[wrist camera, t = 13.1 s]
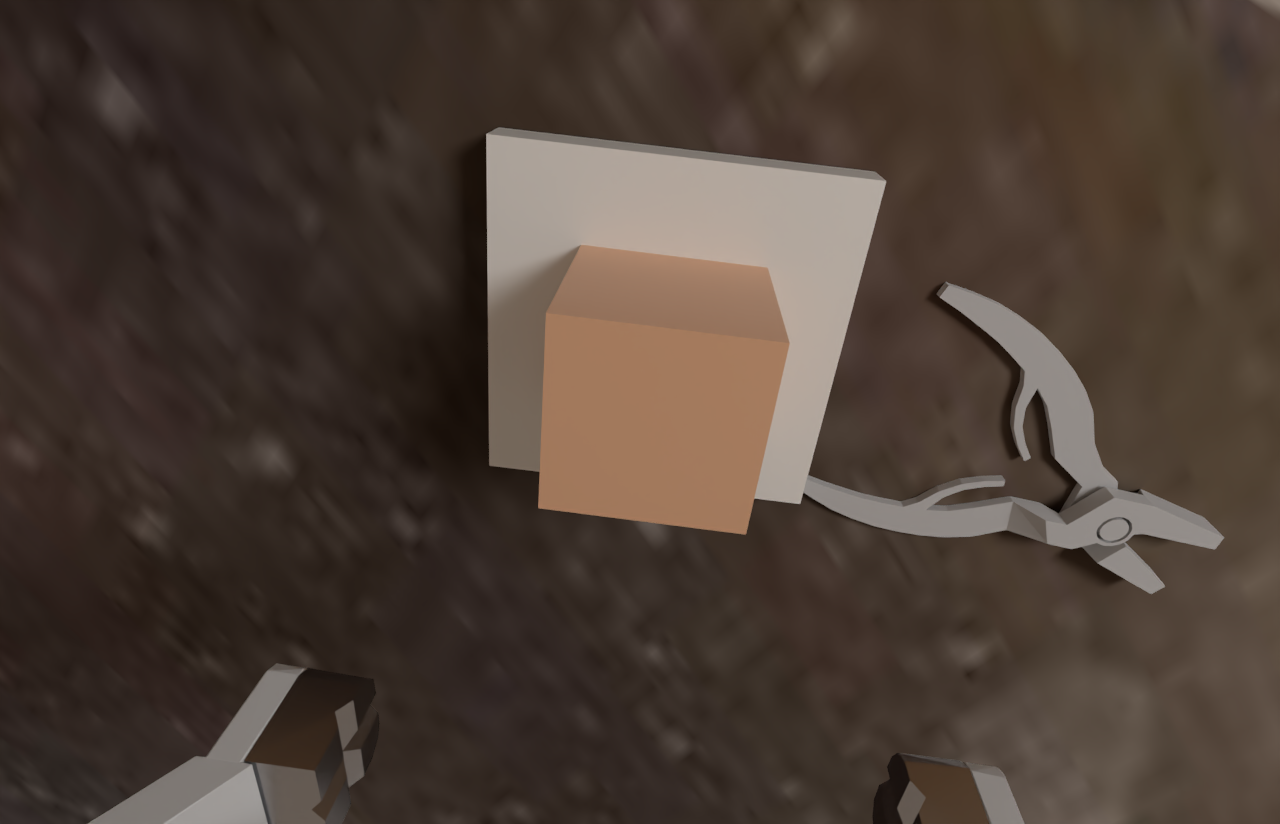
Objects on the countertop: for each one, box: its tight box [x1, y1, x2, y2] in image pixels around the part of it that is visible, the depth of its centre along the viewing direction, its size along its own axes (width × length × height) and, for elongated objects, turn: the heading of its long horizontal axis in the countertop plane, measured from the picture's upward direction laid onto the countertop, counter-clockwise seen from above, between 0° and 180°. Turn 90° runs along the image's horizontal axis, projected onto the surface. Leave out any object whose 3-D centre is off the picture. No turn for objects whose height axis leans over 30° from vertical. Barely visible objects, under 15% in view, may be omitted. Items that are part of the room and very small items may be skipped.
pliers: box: [803, 282, 1224, 594], centre depth 27 cm, size 10×2×15 cm
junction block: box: [486, 127, 886, 504], centre depth 23 cm, size 12×12×6 cm
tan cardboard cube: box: [538, 245, 790, 534], centre depth 21 cm, size 6×6×6 cm
